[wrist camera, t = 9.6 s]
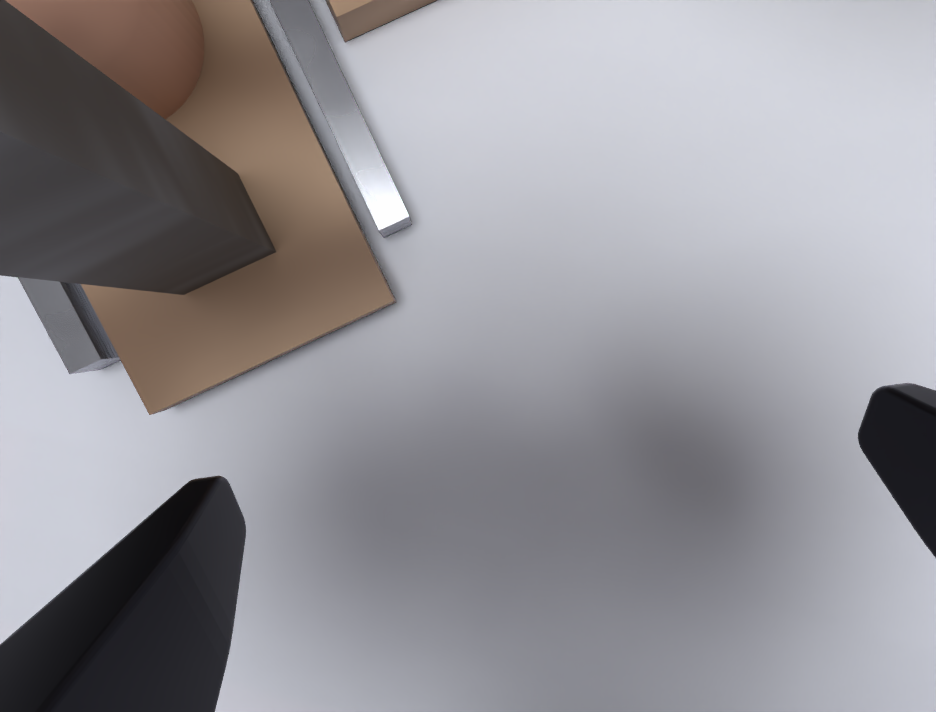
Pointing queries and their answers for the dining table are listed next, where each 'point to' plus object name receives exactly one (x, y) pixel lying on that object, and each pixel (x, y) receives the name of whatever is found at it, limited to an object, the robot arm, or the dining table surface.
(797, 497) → the dining table surface
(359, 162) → the lane rails
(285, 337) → the tan wooden baseplate
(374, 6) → the broken strip
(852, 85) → the dining table surface
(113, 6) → the terracotta cylinder
